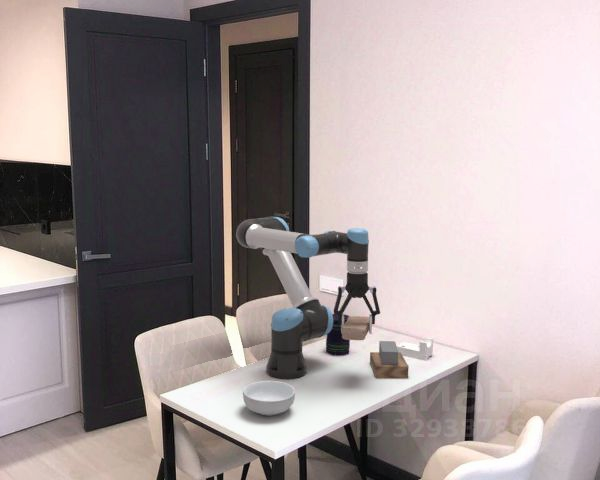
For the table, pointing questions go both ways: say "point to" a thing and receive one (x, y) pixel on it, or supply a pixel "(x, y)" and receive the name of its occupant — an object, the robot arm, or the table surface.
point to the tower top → (388, 353)
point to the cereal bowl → (268, 397)
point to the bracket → (417, 349)
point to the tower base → (388, 367)
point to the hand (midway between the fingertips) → (356, 332)
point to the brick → (355, 328)
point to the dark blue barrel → (337, 339)
